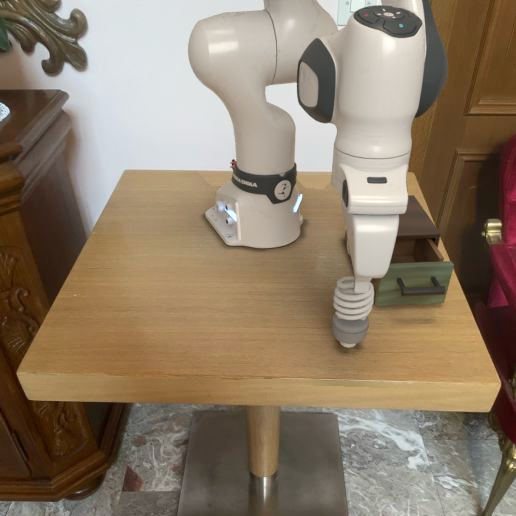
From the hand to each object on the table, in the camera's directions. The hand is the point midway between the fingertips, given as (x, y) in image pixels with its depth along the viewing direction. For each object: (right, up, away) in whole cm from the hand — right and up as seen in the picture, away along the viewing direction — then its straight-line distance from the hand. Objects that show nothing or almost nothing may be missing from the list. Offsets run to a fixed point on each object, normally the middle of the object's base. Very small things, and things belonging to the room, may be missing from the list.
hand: (356, 270), depth 71 cm
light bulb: (0, -10, +9) cm, 14 cm away
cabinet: (+11, +6, +29) cm, 31 cm away
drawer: (+11, 0, +19) cm, 23 cm away
